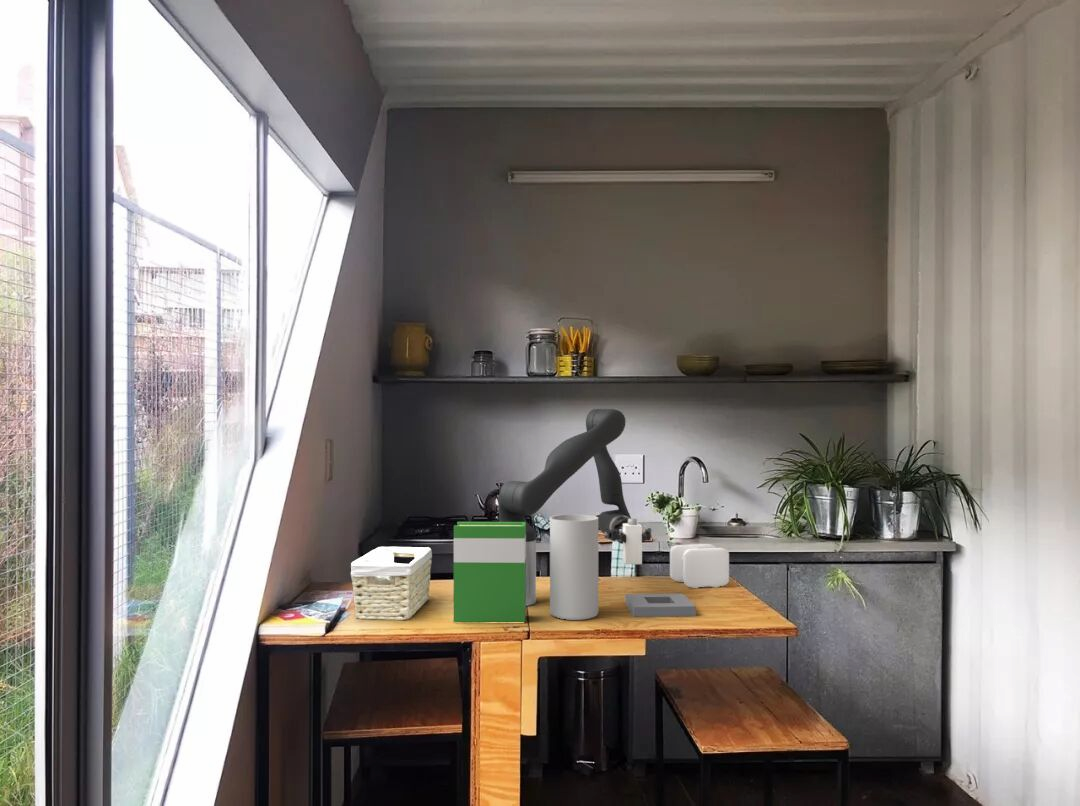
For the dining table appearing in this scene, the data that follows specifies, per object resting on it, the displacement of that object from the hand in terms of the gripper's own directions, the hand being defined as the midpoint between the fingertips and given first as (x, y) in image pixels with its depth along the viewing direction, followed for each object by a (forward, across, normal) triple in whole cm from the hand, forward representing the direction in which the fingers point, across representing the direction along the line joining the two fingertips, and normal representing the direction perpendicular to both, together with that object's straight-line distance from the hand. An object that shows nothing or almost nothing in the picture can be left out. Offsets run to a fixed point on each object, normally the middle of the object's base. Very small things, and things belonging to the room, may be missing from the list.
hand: (634, 538), depth 207 cm
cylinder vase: (+9, -17, +18) cm, 27 cm away
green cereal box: (+12, -39, +18) cm, 45 cm away
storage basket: (+1, -65, +18) cm, 67 cm away
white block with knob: (-3, 0, +7) cm, 8 cm away
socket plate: (+5, +6, +18) cm, 20 cm away
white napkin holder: (-23, +24, +18) cm, 38 cm away
